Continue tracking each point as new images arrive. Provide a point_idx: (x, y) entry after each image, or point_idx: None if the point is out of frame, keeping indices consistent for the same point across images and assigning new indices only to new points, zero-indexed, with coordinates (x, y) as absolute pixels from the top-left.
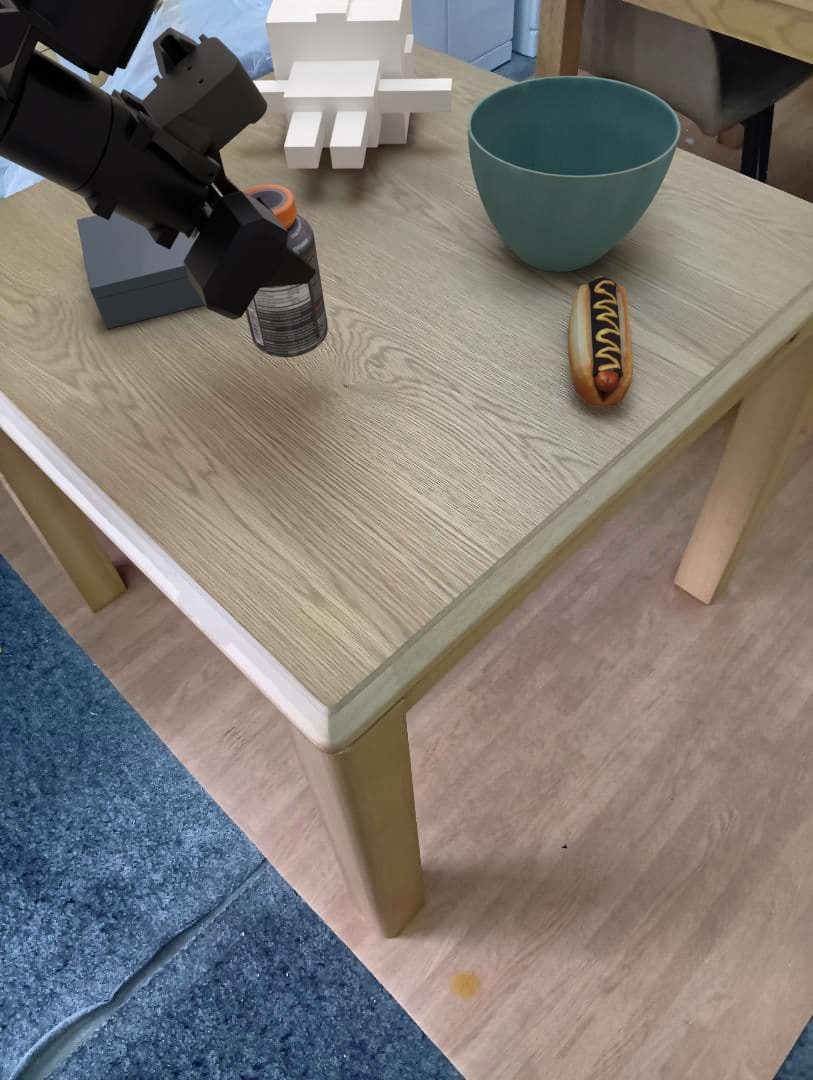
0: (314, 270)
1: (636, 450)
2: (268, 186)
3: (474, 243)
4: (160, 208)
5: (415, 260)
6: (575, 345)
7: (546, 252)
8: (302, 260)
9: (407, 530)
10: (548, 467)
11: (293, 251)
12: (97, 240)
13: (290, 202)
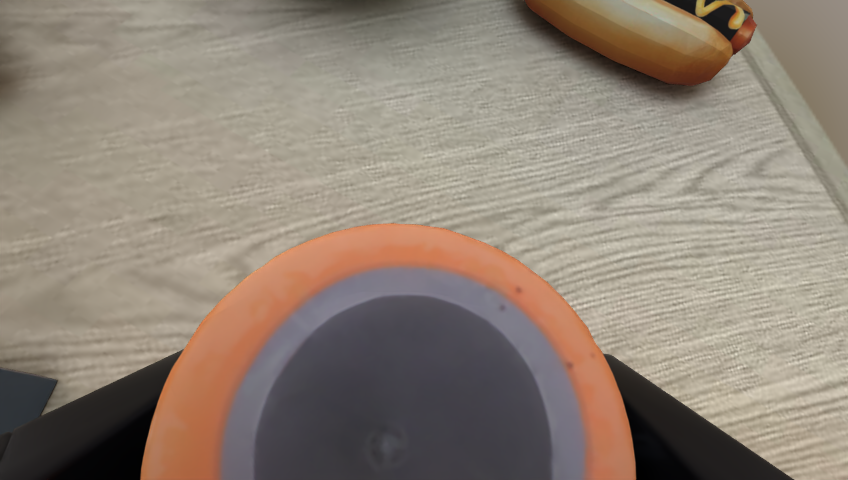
0: (615, 359)
1: (778, 89)
2: (243, 320)
3: (259, 15)
4: None
5: (224, 97)
6: (649, 24)
7: None
8: (695, 412)
9: (825, 457)
10: (767, 194)
11: (717, 447)
12: None
13: (545, 287)
